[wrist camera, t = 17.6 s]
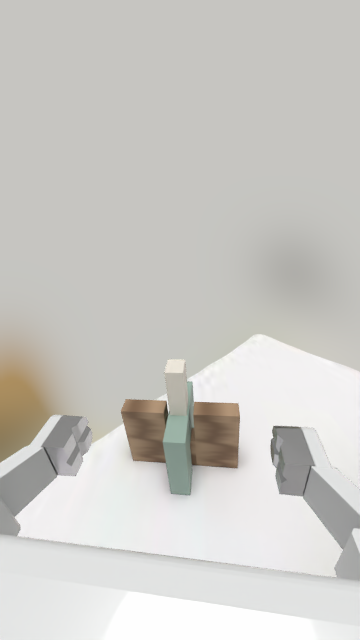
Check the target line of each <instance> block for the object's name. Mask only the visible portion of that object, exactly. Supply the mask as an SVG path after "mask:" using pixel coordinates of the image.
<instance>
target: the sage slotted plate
mask: <svg viewBox="0 0 360 640" xmlns="http://www.w3.org/2000/svg"><path fill="white" fill-rule="evenodd" d="M164 373H165V381H166V389H167V396H168V404H169V414H168V419H167V424H166V429H165V433H164V438H163V447H164V453H165V459H166V466H167V472H168V478H169V484H170V491H171V494H181V495H190V492H191V479H192V461H191V449H190V441H191V431H192V428H194V418H193V412H194V400H193V385H192V382H187V377H186V364H185V360H178V359H176V360H175V359H168V362H167V365H166V369H165V372H164Z"/></svg>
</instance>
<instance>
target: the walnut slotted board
mask: <svg viewBox="0 0 360 640" xmlns="http://www.w3.org/2000/svg"><path fill="white" fill-rule="evenodd" d="M121 414H122V418H123V422H124V426H125V430H126V434H127V438H128V442H129V446H130V449H131V453H132V457H133V460H135V461H148V462H162V463H166V459H165V453H164V447H163V438H164V433H165V429H166V424H167V419H168V409H167V402H166V401H157V400H130V399H126V401H125V403H124V405H123V407H122V410H121ZM193 418H194V428H192V431H191V441H190V449H191V461H192V465H202V466H215V467H229V468H237V465H238V444H239V423H240V414H239V405H238V404H237V403H210V402H194V412H193Z"/></svg>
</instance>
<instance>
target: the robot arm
mask: <svg viewBox="0 0 360 640" xmlns="http://www.w3.org/2000/svg"><path fill="white" fill-rule="evenodd" d="M87 424H88V420H87V418H86V417H79V416H67V415H53V416H51V417H50V418H49V420H48V421H47V422H46V424H45V425H44V427H43V428H42V429H41V431H40V432H39V433H38V435H37V436H36V437H35V439H34V440H33V442H32V443H31V444H30V446H25V447H24V448H22V449H21V450H19V451H18V452H16V453H15V454H14V455H12V456H10V457H9V458H7V459H6V460H4V461H3V462H1V463H0V640H360V489H359V488H358V487H357V486H356V485H354V484H353V483H352V482H351V481H350V480H349V479H348V478H347V477H346V476H344V475H343V474H342V473H341V472H340V471H339V470H338V469H337V468H332V466H331V464H330V462H329V460H328V457H327V455H326V453H325V450H324V448H323V446H322V444H321V441H320V439H319V437H318V434H317V432H316V430H315V429H314V428H309V427H292V426H274V427H273V430H272V433H273V437H274V438H273V439H271V457H272V462H273V465H274V466H275V467H276V468H277V469H276V481H277V485H278V489H279V494H285V495H294V496H303V498H304V500H305V501H306V502H307V503H308V505H309V506H310V507H311V509H312V510H313V511H314V513H315V514H316V515H317V517H318V518H319V519H320V520H321V522H322V523H323V524H324V526H325V527H326V528H327V530H328V531H329V532H330V533H331V535H332V536H333V537H334V539H335V540H336V541H337V543H338V544H339V545H340V546H341V548H342V549H343V551H342V554H341V556H340V558H339V560H338V562H337V564H336V566H335V571H336V574H337V578H336V577H329V576H321V575H313V574H305V573H298V572H290V571H282V570H274V569H267V568H259V567H251V566H244V565H236V564H228V563H220V562H213V561H205V560H197V559H189V558H182V557H174V556H166V555H158V554H151V553H143V552H135V551H128V550H120V549H112V548H104V547H97V546H89V545H81V544H73V543H66V542H58V541H50V540H42V539H34V538H27V537H19V536H17V535H18V533H19V531H20V524H19V523H18V522H17V520H16V519H15V516H16V515H17V514H18V513H19V512H20V511H21V510H22V509H23V508H24V507H25V506H27V505H28V504H29V503H30V502H31V501H32V500H33V499H34V498H35V497H36V496H37V495H38V494H39V493H40V492H41V491H42V490H43V489H44V488H45V487H47V486H48V485H49V484H50V483H51V482H52V481H53V480H54V479H55V478H56V477H57V475H64V476H76V475H77V472H78V470H79V468H80V466H81V464H82V462H83V457H82V456H83V455H84V454H85V453H87V452H88V450H89V448H90V446H91V442H92V431H91V429H90V428H89V427H88V426H87Z"/></svg>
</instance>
